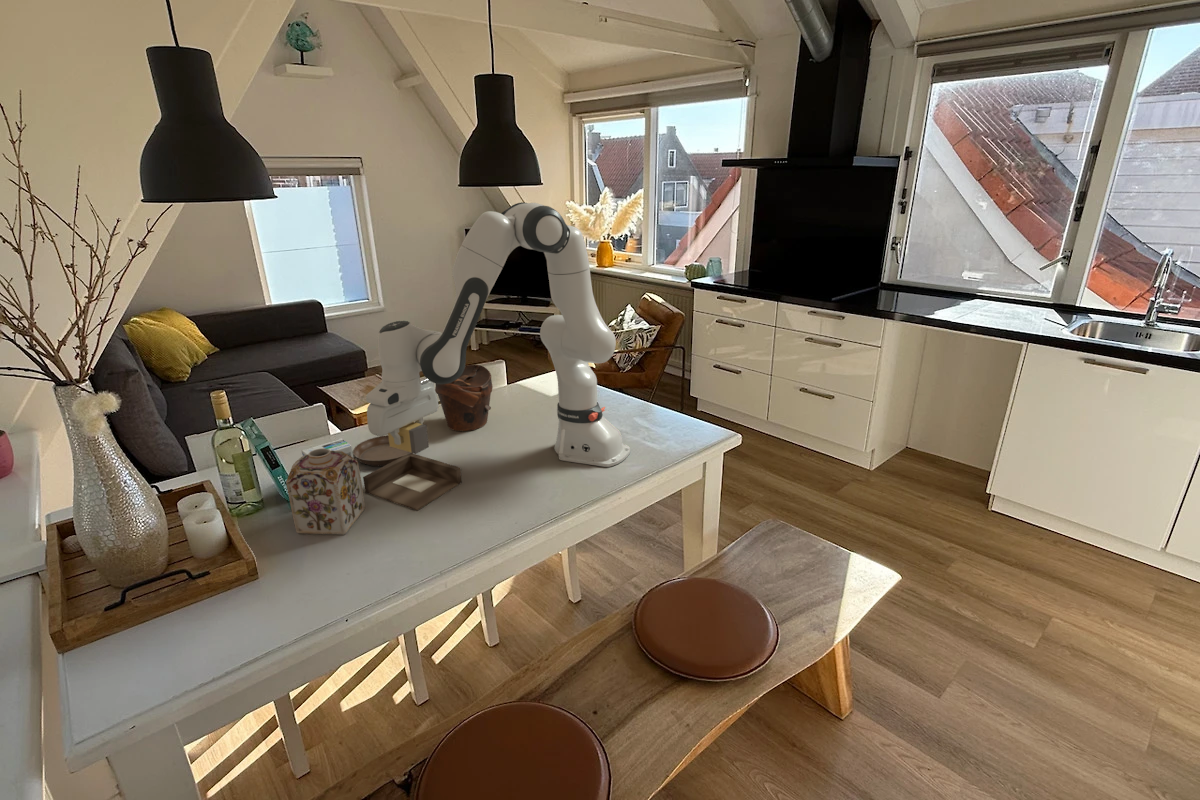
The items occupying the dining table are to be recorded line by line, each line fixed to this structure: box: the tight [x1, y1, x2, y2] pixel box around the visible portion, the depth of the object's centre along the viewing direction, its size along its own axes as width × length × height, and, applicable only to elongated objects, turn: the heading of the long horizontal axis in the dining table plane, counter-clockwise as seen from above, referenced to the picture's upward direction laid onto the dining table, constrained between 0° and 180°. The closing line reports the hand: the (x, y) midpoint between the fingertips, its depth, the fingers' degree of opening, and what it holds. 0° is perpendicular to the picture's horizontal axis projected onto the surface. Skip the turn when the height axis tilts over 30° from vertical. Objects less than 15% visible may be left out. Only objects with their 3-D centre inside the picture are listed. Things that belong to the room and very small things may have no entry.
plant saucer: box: [352, 434, 411, 467], centre depth 173 cm, size 18×18×3 cm
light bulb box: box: [301, 437, 354, 458], centre depth 156 cm, size 11×7×11 cm, turn 135°
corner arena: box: [362, 453, 463, 511], centre depth 155 cm, size 18×16×4 cm
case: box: [434, 364, 493, 432], centre depth 192 cm, size 18×20×18 cm
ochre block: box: [387, 422, 430, 455], centre depth 152 cm, size 4×9×6 cm, turn 61°
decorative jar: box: [285, 448, 366, 536], centre depth 138 cm, size 12×12×18 cm
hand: (408, 439), depth 152 cm, fingers closed on ochre block, 4 cm apart
